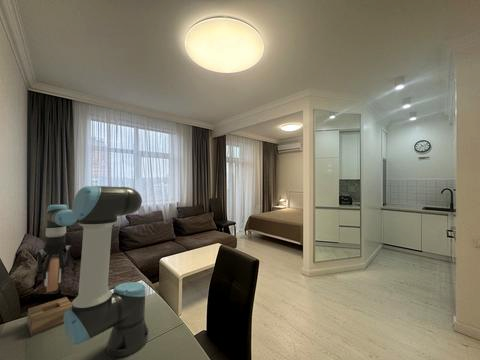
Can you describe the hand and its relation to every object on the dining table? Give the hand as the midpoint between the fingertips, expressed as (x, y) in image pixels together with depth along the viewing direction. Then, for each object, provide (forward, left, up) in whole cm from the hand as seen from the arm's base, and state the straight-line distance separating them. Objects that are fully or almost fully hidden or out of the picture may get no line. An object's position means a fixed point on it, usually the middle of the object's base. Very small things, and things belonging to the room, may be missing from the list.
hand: (52, 283), depth 97 cm
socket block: (0, 0, -18) cm, 18 cm away
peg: (0, 0, -3) cm, 3 cm away
